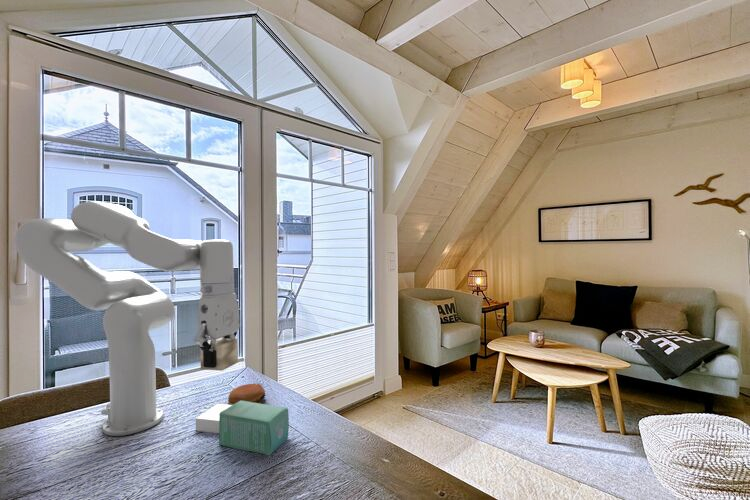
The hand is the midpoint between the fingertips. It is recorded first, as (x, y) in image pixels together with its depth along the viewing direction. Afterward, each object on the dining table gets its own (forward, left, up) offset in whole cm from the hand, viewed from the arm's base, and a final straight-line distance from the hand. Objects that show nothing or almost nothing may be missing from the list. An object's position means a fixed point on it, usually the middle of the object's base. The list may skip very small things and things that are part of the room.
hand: (219, 361), depth 87 cm
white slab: (0, 0, -16) cm, 16 cm away
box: (+13, -5, -16) cm, 21 cm away
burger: (-1, +12, -16) cm, 20 cm away
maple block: (0, 0, -1) cm, 1 cm away
